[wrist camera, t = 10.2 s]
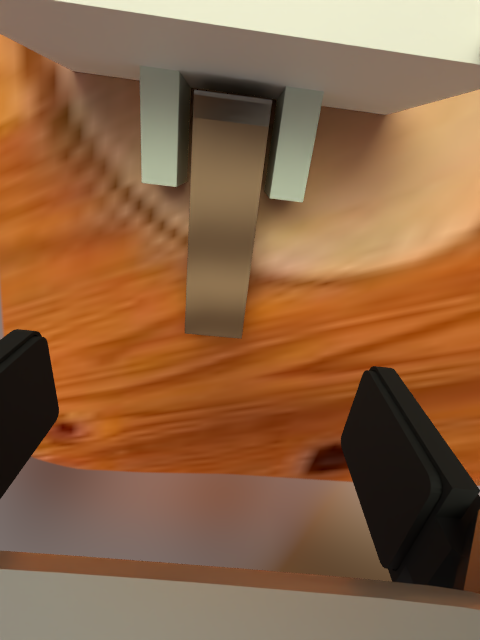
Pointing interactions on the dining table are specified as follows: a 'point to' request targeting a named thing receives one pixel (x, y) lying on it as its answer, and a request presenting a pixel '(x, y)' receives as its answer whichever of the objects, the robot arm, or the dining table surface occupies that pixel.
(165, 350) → the dining table surface
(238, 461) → the dining table surface
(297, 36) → the pale grey legged piece
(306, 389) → the dining table surface
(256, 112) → the rail
